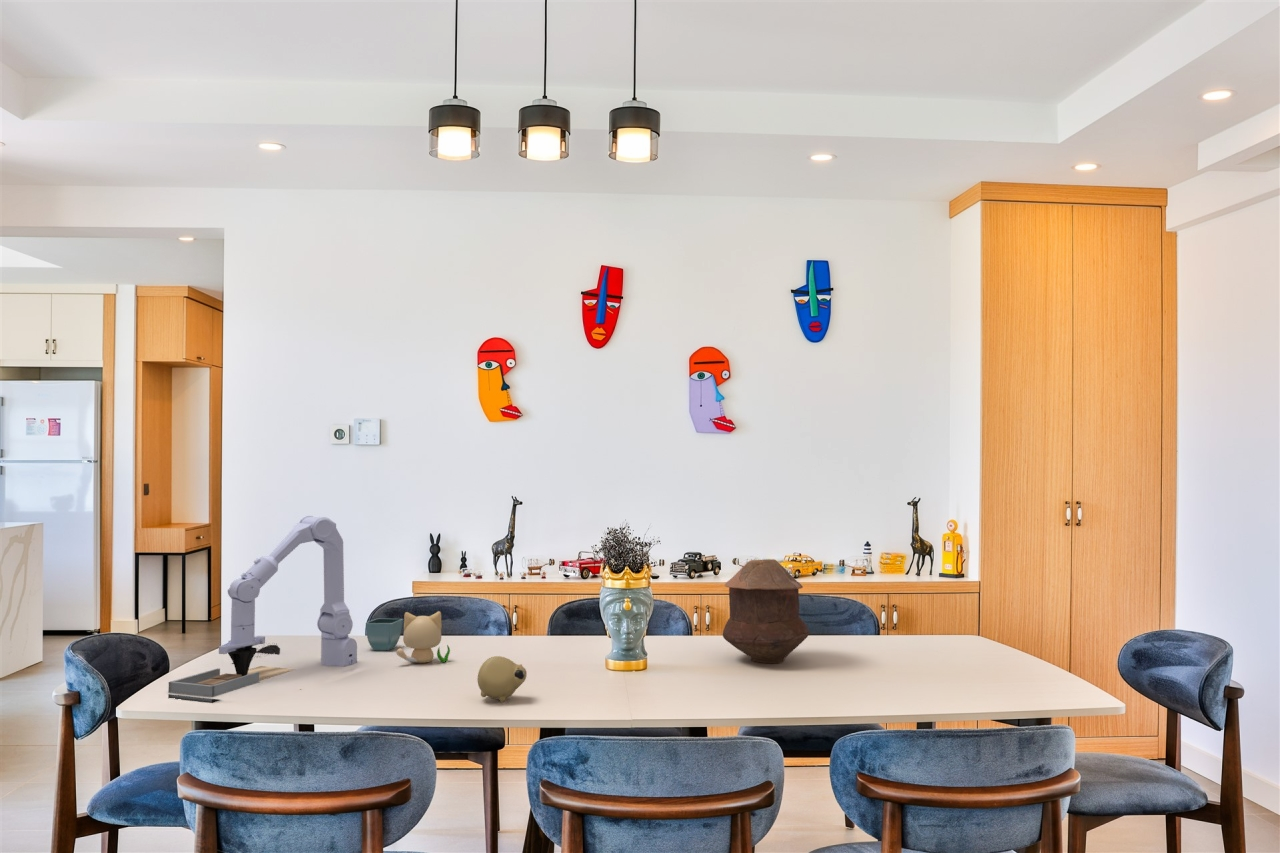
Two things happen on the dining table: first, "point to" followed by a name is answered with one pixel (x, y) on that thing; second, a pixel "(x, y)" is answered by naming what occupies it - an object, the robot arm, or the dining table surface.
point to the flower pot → (383, 633)
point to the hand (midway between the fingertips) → (241, 676)
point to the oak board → (268, 671)
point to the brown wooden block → (227, 676)
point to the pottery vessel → (764, 612)
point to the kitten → (422, 637)
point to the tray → (208, 686)
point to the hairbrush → (269, 650)
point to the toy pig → (500, 677)
